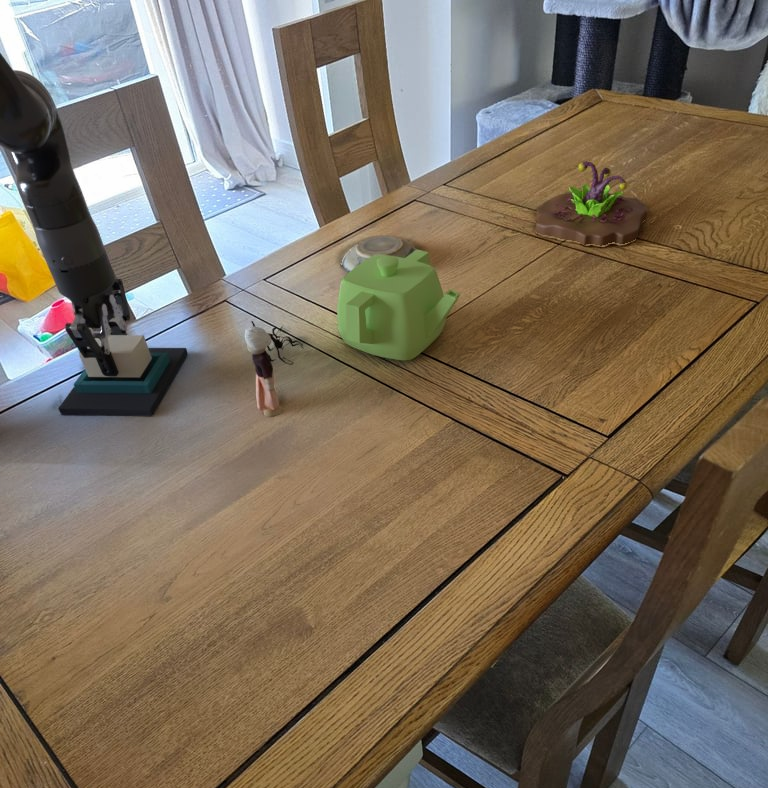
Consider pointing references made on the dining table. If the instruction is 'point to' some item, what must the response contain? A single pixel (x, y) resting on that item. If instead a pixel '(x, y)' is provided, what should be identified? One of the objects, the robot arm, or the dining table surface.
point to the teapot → (393, 306)
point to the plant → (592, 213)
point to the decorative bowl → (376, 250)
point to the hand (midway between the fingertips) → (118, 364)
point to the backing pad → (126, 388)
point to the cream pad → (122, 356)
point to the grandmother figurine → (263, 371)
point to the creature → (279, 343)
